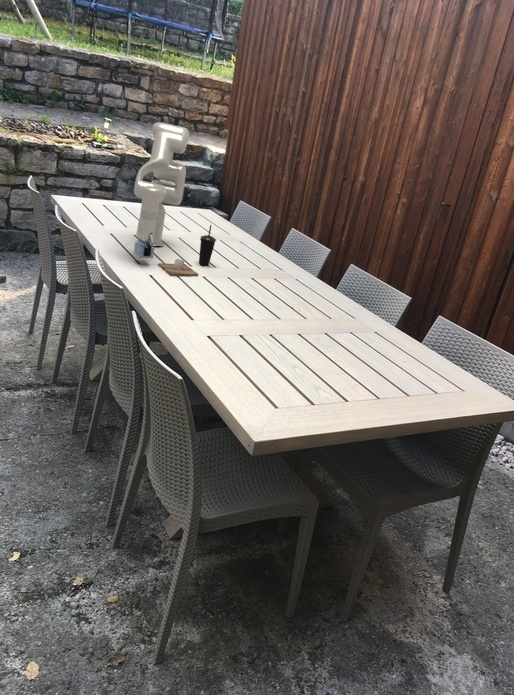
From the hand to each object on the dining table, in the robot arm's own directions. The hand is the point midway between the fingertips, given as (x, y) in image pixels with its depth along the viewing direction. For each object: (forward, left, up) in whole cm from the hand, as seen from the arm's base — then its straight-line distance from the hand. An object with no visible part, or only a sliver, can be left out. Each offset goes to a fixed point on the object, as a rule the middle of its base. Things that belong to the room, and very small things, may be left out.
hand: (143, 252), depth 266 cm
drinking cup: (0, +33, -5) cm, 33 cm away
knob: (0, 0, -1) cm, 1 cm away
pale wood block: (+10, +14, -4) cm, 17 cm away
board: (+10, +14, -5) cm, 17 cm away
